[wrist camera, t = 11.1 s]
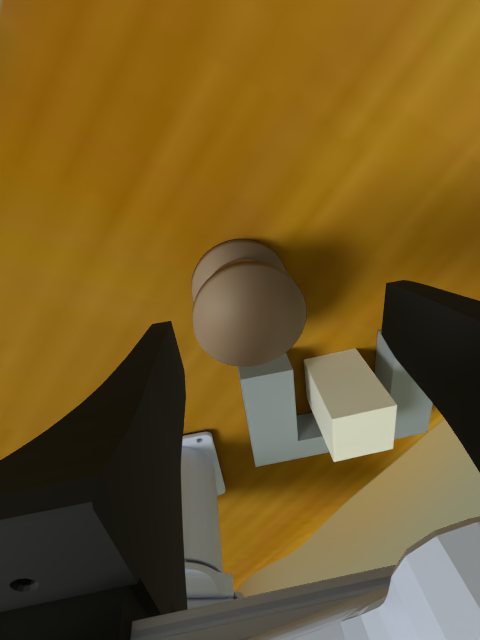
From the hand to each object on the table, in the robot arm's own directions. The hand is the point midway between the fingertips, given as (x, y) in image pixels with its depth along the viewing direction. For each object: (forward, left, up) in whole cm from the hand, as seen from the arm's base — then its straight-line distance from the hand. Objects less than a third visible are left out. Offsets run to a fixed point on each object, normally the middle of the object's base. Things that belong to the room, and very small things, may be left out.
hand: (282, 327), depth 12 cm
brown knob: (-1, -3, -10) cm, 11 cm away
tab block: (+5, -12, -10) cm, 17 cm away
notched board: (+5, -13, -10) cm, 18 cm away
